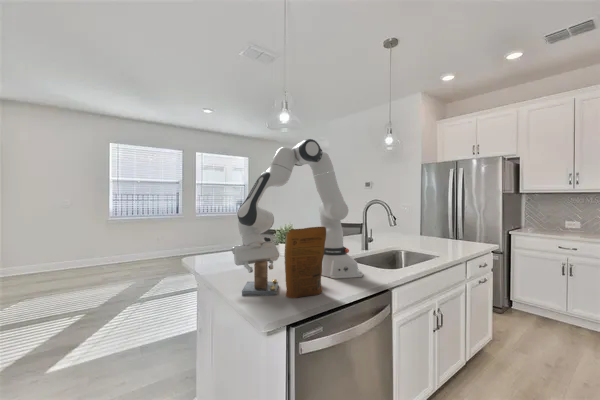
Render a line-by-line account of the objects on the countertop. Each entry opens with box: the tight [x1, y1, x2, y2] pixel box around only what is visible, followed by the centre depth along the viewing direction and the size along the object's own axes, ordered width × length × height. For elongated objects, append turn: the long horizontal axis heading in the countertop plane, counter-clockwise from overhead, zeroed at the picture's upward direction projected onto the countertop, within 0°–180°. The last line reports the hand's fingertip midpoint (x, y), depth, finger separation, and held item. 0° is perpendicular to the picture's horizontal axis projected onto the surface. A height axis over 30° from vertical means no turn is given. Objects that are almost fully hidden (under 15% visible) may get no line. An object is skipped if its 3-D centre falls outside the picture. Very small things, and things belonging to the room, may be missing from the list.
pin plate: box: [241, 278, 279, 296], centre depth 118 cm, size 14×12×6 cm
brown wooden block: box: [253, 261, 269, 288], centre depth 118 cm, size 5×5×10 cm
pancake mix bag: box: [284, 226, 326, 299], centre depth 112 cm, size 7×19×28 cm, turn 112°
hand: (261, 270), depth 118 cm, fingers open, 8 cm apart
